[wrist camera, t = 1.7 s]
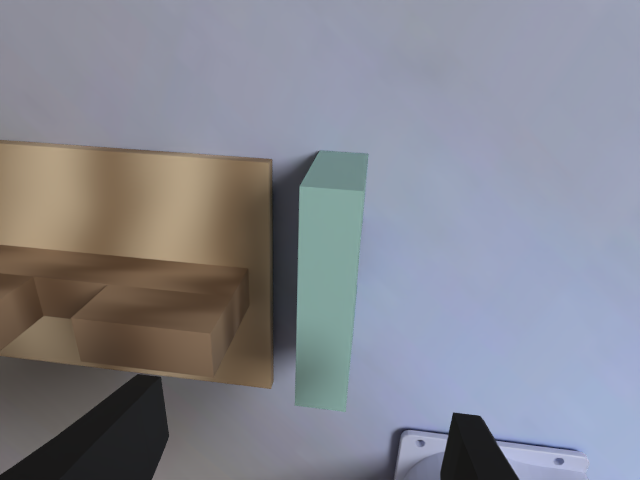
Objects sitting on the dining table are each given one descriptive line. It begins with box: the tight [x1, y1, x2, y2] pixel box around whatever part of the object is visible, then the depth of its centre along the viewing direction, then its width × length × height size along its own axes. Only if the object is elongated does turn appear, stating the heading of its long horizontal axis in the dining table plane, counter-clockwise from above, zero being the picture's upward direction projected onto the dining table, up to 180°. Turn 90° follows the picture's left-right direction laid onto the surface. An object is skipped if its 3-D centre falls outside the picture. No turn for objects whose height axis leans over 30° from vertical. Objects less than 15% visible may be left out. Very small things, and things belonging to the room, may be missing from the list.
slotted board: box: [0, 140, 273, 389], centre depth 19 cm, size 16×12×6 cm
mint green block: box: [295, 151, 368, 412], centre depth 18 cm, size 2×9×5 cm, turn 178°
